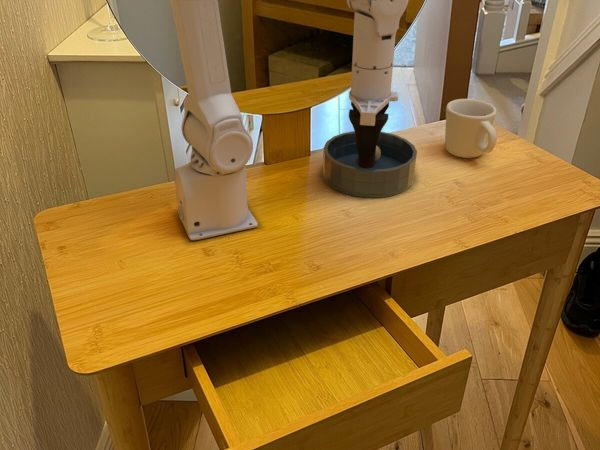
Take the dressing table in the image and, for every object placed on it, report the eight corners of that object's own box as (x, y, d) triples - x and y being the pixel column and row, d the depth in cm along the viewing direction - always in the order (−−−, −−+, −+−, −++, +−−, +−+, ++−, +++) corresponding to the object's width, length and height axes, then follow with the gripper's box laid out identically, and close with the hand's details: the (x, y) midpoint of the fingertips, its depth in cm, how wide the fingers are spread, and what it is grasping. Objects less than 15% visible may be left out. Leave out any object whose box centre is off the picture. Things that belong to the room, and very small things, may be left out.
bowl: (347, 205, 91) (348, 178, 88) (309, 163, 102) (309, 138, 99) (431, 187, 95) (434, 161, 93) (385, 149, 106) (388, 125, 104)
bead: (366, 167, 100) (368, 150, 98) (358, 159, 102) (359, 142, 100) (383, 164, 101) (384, 147, 99) (374, 156, 103) (375, 139, 101)
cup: (509, 165, 102) (518, 119, 97) (467, 173, 99) (475, 126, 95) (470, 138, 110) (477, 95, 106) (431, 145, 108) (437, 102, 103)
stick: (362, 170, 95) (365, 120, 90) (354, 162, 97) (357, 114, 92) (377, 167, 96) (381, 118, 91) (369, 160, 98) (373, 111, 93)
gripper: (401, 82, 81) (392, 175, 88) (401, 48, 93) (393, 132, 100) (346, 79, 82) (342, 171, 89) (354, 46, 94) (349, 130, 101)
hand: (366, 150), depth 95 cm, fingers closed on stick, 2 cm apart
